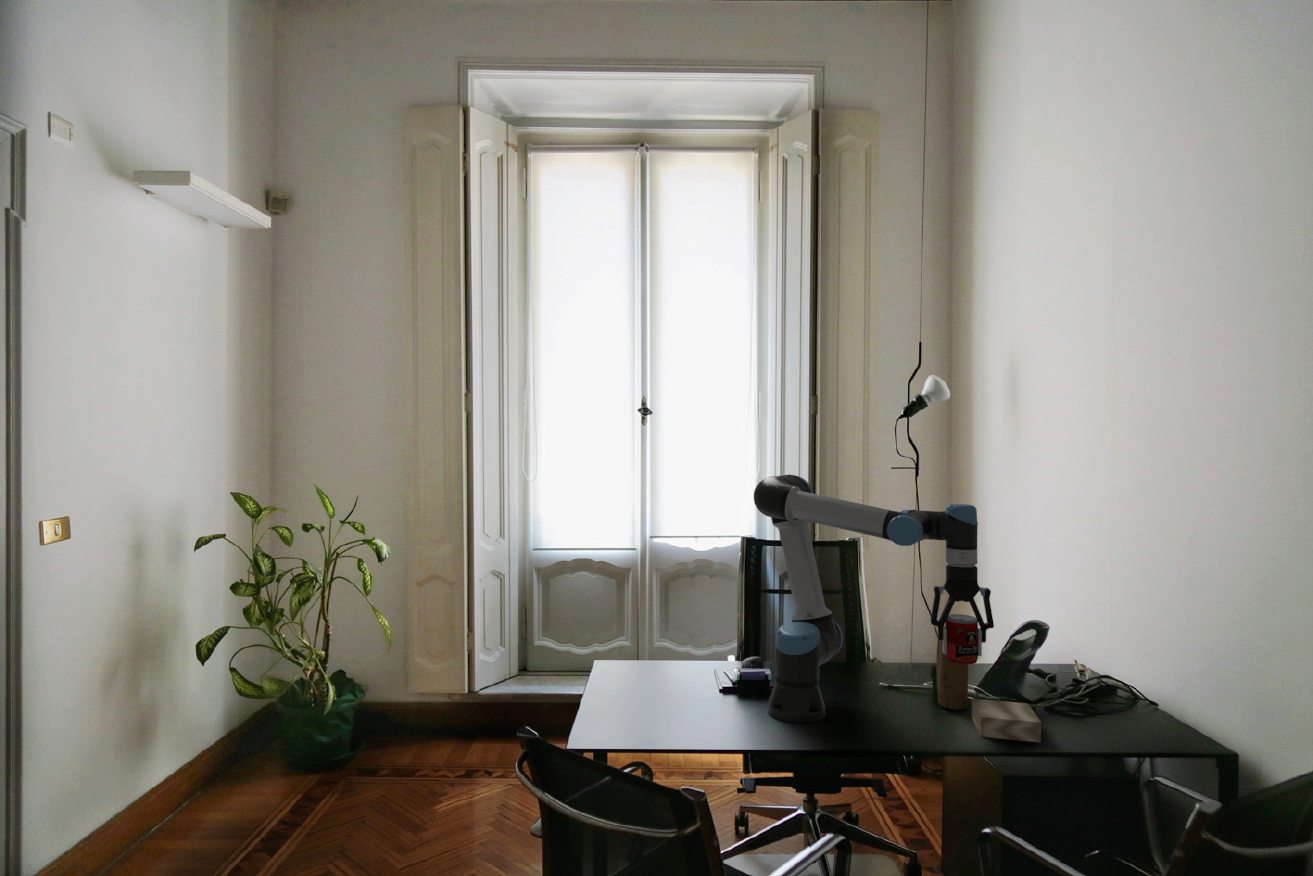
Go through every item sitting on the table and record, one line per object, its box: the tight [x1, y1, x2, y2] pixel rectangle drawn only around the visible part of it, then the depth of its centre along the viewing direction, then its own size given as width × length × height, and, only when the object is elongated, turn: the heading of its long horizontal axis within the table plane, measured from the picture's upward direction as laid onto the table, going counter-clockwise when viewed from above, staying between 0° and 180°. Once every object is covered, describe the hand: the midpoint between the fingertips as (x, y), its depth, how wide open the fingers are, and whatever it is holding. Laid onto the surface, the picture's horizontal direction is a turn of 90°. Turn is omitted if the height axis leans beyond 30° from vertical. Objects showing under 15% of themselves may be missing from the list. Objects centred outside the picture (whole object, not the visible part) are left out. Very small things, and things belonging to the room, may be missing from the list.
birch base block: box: [970, 698, 1042, 744], centre depth 201 cm, size 14×14×5 cm
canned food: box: [945, 613, 979, 665], centre depth 200 cm, size 8×8×11 cm
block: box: [935, 638, 969, 711], centre depth 220 cm, size 11×8×20 cm
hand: (961, 653), depth 200 cm, fingers closed on canned food, 8 cm apart
